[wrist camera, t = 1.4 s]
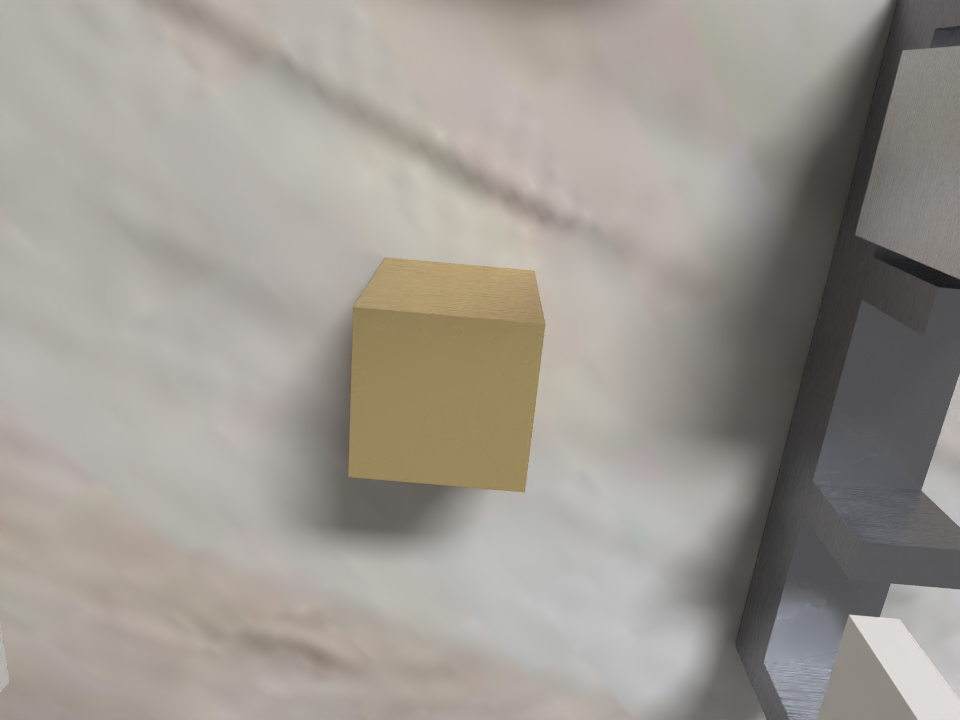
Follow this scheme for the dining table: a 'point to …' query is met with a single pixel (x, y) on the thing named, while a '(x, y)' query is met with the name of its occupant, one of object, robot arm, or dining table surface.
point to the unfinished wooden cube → (445, 374)
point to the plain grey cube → (919, 164)
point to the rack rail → (859, 438)
